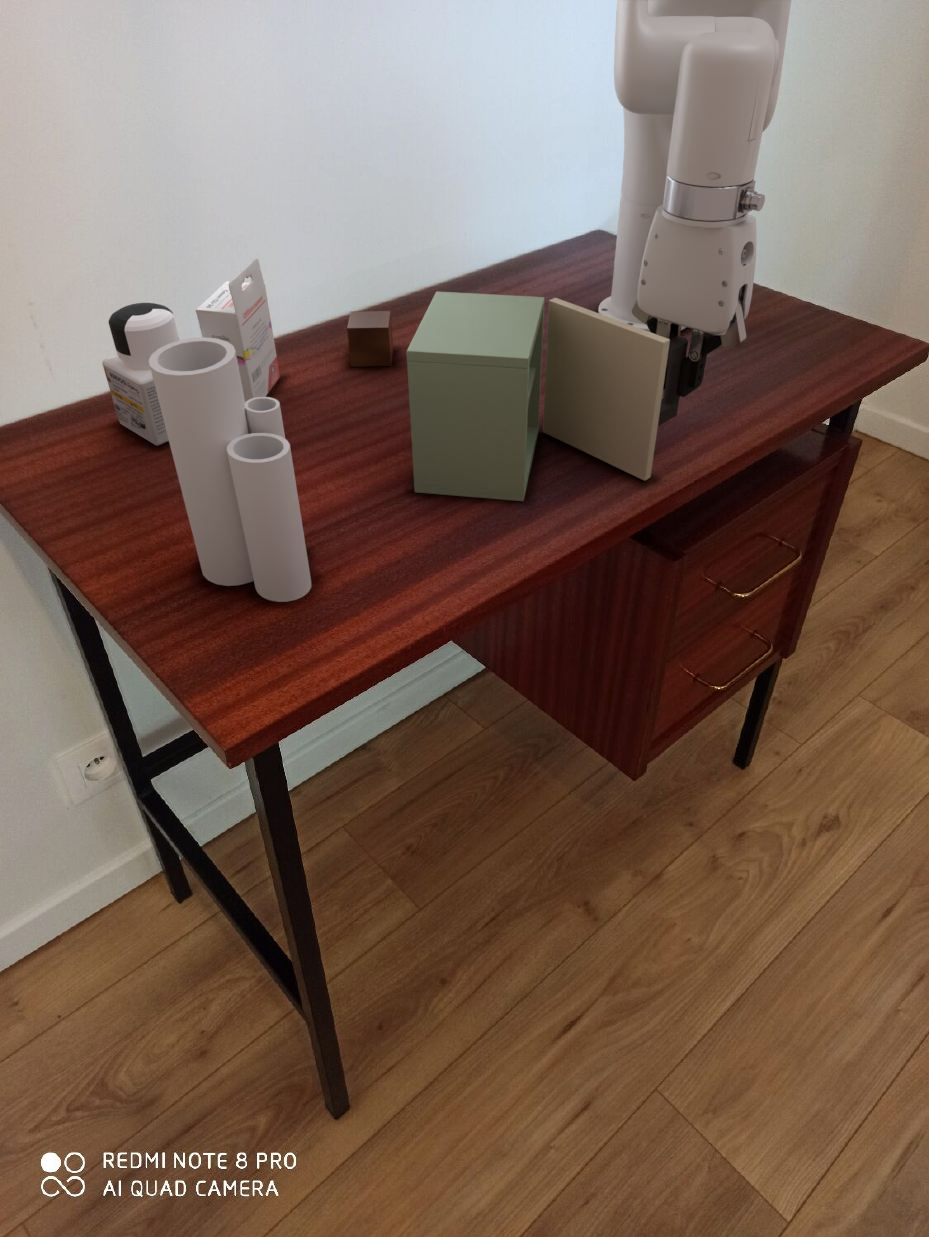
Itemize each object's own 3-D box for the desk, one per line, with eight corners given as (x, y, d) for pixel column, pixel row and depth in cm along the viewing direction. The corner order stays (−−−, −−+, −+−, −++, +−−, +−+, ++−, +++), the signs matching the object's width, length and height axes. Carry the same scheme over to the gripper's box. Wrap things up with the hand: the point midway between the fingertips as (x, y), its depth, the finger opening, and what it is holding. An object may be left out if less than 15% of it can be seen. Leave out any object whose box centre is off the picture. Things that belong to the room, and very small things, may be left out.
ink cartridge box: (243, 375, 112) (220, 252, 102) (281, 378, 111) (262, 255, 101) (214, 408, 105) (187, 281, 96) (255, 412, 104) (232, 284, 95)
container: (118, 424, 103) (85, 311, 94) (177, 400, 107) (150, 290, 98) (157, 447, 99) (126, 332, 90) (216, 421, 103) (192, 309, 94)
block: (393, 348, 117) (390, 310, 113) (391, 366, 113) (388, 327, 110) (354, 349, 117) (350, 311, 113) (350, 367, 113) (346, 328, 110)
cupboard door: (585, 409, 104) (596, 280, 94) (687, 454, 96) (710, 319, 86) (542, 432, 100) (548, 300, 90) (644, 481, 92) (663, 342, 82)
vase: (186, 576, 81) (129, 367, 68) (231, 532, 86) (187, 330, 73) (295, 607, 78) (257, 393, 65) (336, 560, 83) (309, 352, 70)
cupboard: (538, 431, 100) (544, 296, 90) (523, 501, 90) (528, 358, 80) (440, 424, 102) (436, 291, 92) (414, 492, 91) (406, 350, 81)
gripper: (808, 204, 79) (765, 398, 91) (653, 173, 87) (632, 355, 99) (768, 226, 75) (729, 426, 87) (608, 191, 83) (592, 379, 95)
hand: (677, 387), depth 93 cm, fingers closed on cupboard door
